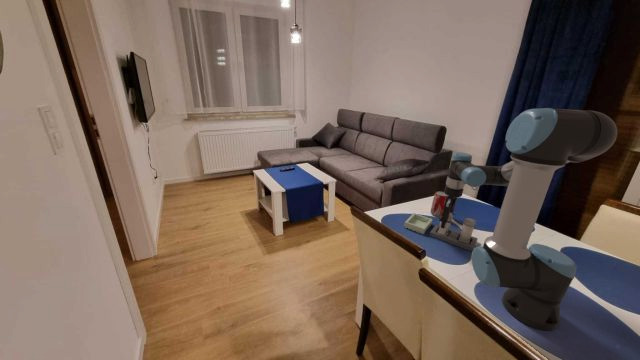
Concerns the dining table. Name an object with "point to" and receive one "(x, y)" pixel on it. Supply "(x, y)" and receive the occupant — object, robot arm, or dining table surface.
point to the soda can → (438, 203)
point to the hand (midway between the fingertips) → (443, 229)
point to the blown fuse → (447, 224)
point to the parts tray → (418, 223)
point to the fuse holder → (458, 235)
